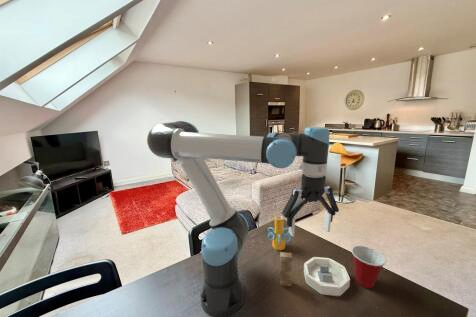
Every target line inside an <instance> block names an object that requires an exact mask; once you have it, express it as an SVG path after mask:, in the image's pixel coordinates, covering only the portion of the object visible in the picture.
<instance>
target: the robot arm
mask: <svg viewBox="0 0 476 317" xmlns="http://www.w3.org/2000/svg"><path fill="white" fill-rule="evenodd" d="M146 139H147V141H146V143H147V146H148V148H149V150H150V152H151V153H152V154H154V155H155V156H157V157H159V158H163V159H173V162H174V163H176V164H179V165H180V166H181V167H182V169H183V171H184V172H185V173H184V174H186V177H187V178H188V180H189V181H190V182H189V183H191V185H192V188H193V189H194V191H195V193H196V194H197V196H198V198H199V200H200V201H201V203H202V205H203V207H204V208H205V211H206V213H207V214H208V215H209V218H210V220H209V226H210V229H211V230H209V231H208V232H207V233H205V235H204V236H203V238H202V241H201V249H200V250H201V251H200V252H201V256H202V257H201V258H202V269H203V270H202V271H203V283H202V286H201V289H200V295H199V297H200V306H201V307H202V309H203V310H204V311H205V313H206V314H208V315H210V316H212V317H227V316H230V315H233V314H235V313H236V312H237V311H238V310H239V309H241V307H242V305H243V304H244V300H245V290H244V289H245V288H244V285H243V283H242V281H241V279H240V276H239V257H240V254H241V252H242V249H243V246H244V245H245V242H246V239H247V238H248V235H249V223H248V220H247V218H246V217H245V216H244V215H243V214H242V213H240V212H238V211H237V209H236V208H235V207H231V205H230V204H229V202H228V200H227V199H226V197H225V195H224V194H223V192H222V190H221V188H220V185H219V184H218V182H217V181H216V178H215V177H214V175H213V173H212V171H211V170H210V167H209V166H208V164H207V162H206V161H205V159H212V160H222V161H223V160H224V161H234V162H247V163H256V164H257V163H258V164H265V165H266V164H268V165H271V166H272V167H274V168H276V169H286V168H288V167H290V166H291V165H292V164H293V163H294V162H295V159H296V157H302V168H301V173H302V174H301V181H300V182H301V187H300V189H296V188H292V190H291V195H290V196H289V198H288V200H287V202H286V204H285V206H284V207H283V210H282V212H281V214H282V215H283V218H286V225H287V227H288V228H289V235H290V237H291V238H292V237H295V228H296V226H295V225H296V219H295V216H296V215H297V214H298V212H300V210H301V209H302V208H303V207H304V206H305V205H306V204H308V203H312V202H315V203H316V202H318V201H319V202H320V203H321V205H322V206H323V208H324V209H325V210H326V211H324V217H323V227H322V228H323V230H325V232H327V233H330V231H331V222H333V221H334V220H333V218H334V216H336V214H337V213H339V211H340V209H339V207H338V204H337V201H336V199H335V196H334V193H333V192H334V189H333V188H332V187H331V186H329V185H326V182H327V181H326V178H327V177H326V174H327V167H328V158H329V148H330V130H329V128H327V127H318V126H312V127H311V126H308V127H305V129H304V132H302V133H295V132H293V133H292V132H291V133H289V132H287V133H286V132H270V133H268V134H267V136H258V135H257V136H256V135H242V134H241V135H240V134H225V133H224V134H223V133H206V132H205V133H204V132H200V131H199V130H198V128H197V127H196V126H195V125H194V124H193V123H191V122H189V121H184V120H183V121H182V120H179V121H178V120H177V121H173V122H161V123H158V124H156V125H154V126H152V128H151V129H150V130H149V132H148V134H147V138H146ZM324 194H325V195H326V198H327V200H328V202H329V203H328V202H327V201H326V199H325V197H324V196H323V195H324Z"/></svg>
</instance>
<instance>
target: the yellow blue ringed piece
mask: <svg viewBox="0 0 476 317" xmlns="http://www.w3.org/2000/svg"><path fill="white" fill-rule="evenodd" d="M270 230H272V231H270ZM285 230H287V232H285ZM267 233H268V235H267V240H268V241H271V242H272V243H271V244H272V248H273V249H274V250H276V251H283V250H285V248H286V243H290V242H291V240H292V236H291V235H290V234H289V227H284V216H282V215H275V216H274V227H272V226H270V227H268V228H267ZM270 236H272V238H270ZM287 236H288V239H287V238H286V237H287Z"/></svg>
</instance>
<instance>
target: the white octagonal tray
mask: <svg viewBox="0 0 476 317" xmlns="http://www.w3.org/2000/svg"><path fill="white" fill-rule="evenodd" d="M303 274H304V279H305V284H307V285H308V286H309V287H311V288H312V289H313V290H314V291H316V292H318V293H319V294H320V295H325V296H326V295H327V296H334V297H341V296H342V295H343V294H344V293H345V292H346V291H347V290H348V289H349V288H350V286H351V285H350V284H351V278H350V276H349V273H348V271H347V269H346V267H345V266H344V265H342V263H339V262H338V261H335V260H333V259H332V258H330V257H319V256H313V257H311V258H310V259H308V260H307V261H305V262H304V263H303Z"/></svg>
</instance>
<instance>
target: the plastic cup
mask: <svg viewBox="0 0 476 317" xmlns="http://www.w3.org/2000/svg"><path fill="white" fill-rule="evenodd" d="M350 250H351V253H352V258H353V267H354V268H353V269H354V275H355V276H354V278H355V281H356V283H357V284H358V285H359V286H361V287H363V288H365V289H372V288H374V286H375V284H376V281H377V279H378V277H379V275H380V273H381V269H382V268H383V267H384V265H386V263H387V259H386V257H385V255H383V254H382V253H381V252H380V251H378V250H377V249H374V248H372V247H370V246H366V245H360V244H359V245H354V246H352V248H351V249H350Z"/></svg>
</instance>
